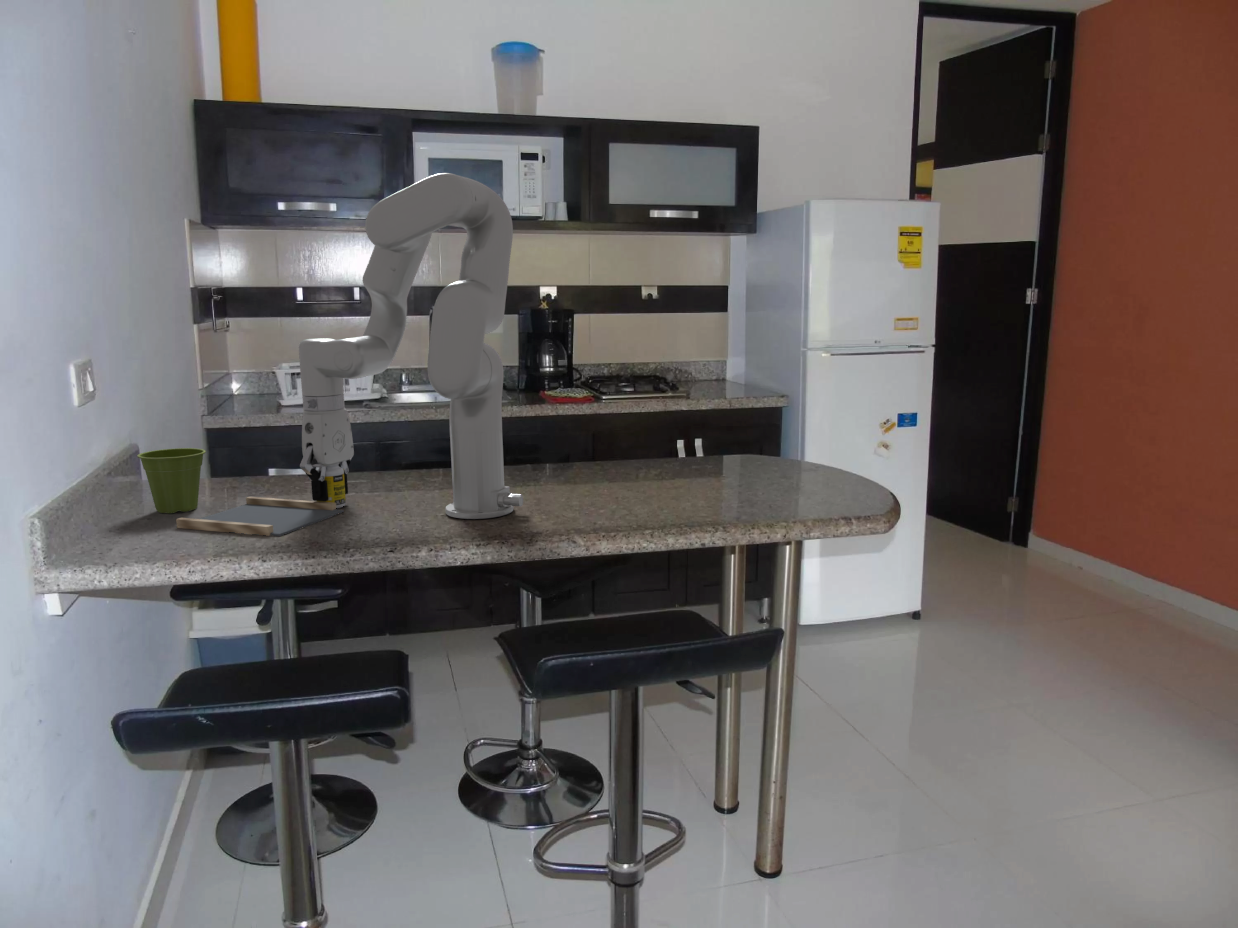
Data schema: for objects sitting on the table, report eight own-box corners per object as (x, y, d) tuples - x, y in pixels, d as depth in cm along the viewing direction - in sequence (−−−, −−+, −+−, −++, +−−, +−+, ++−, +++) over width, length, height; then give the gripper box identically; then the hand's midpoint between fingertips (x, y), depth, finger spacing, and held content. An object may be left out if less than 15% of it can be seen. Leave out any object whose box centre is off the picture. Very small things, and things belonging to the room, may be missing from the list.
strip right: (336, 510, 175) (335, 502, 175) (332, 512, 174) (331, 504, 174) (251, 504, 181) (250, 496, 181) (246, 505, 180) (246, 497, 180)
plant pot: (202, 515, 173) (195, 456, 171) (134, 518, 172) (127, 459, 170) (218, 501, 185) (212, 446, 183) (155, 504, 183) (149, 448, 181)
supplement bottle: (337, 510, 175) (334, 459, 173) (311, 509, 176) (307, 459, 174) (351, 503, 181) (347, 454, 179) (325, 503, 182) (322, 454, 180)
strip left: (273, 534, 159) (272, 525, 158) (268, 535, 158) (268, 526, 157) (182, 526, 165) (181, 517, 165) (177, 527, 164) (176, 519, 164)
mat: (344, 512, 174) (343, 509, 174) (280, 536, 157) (279, 533, 157) (249, 504, 181) (249, 503, 181) (178, 527, 164) (178, 525, 164)
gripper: (311, 410, 166) (318, 508, 169) (367, 399, 181) (373, 489, 185) (276, 409, 168) (285, 505, 171) (335, 398, 184) (341, 487, 187)
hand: (330, 496), depth 178 cm, fingers closed on supplement bottle, 5 cm apart
